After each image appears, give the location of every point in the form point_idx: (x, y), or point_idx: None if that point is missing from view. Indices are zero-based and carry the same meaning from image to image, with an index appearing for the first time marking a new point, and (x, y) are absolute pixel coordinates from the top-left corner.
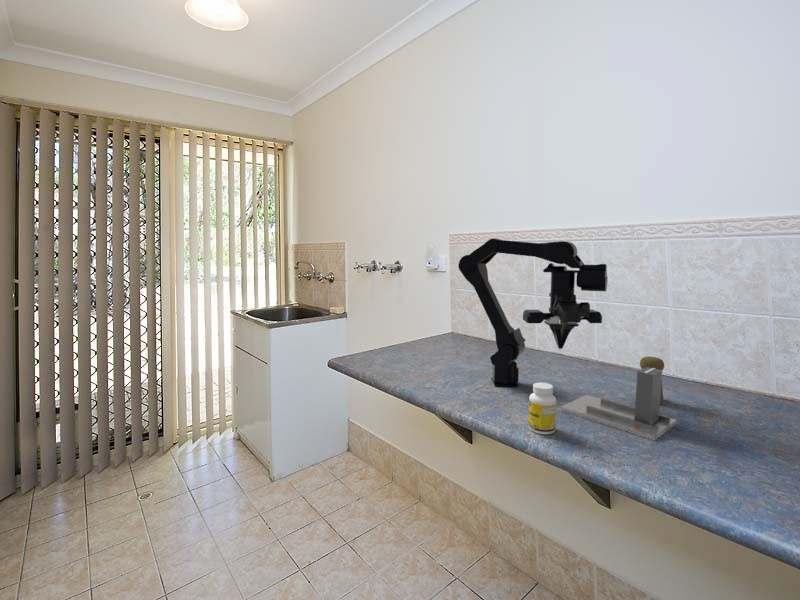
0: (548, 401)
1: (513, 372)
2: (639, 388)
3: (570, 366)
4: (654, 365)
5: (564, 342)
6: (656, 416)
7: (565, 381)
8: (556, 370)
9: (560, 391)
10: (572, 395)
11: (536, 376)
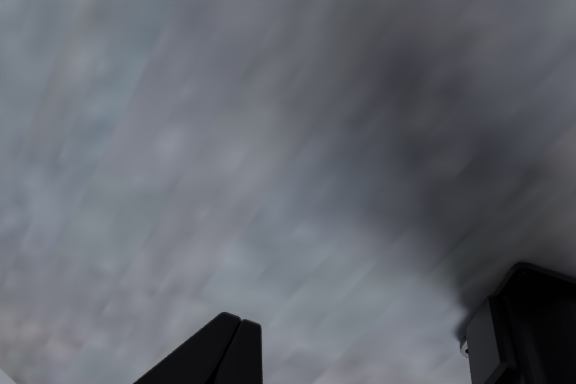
0: None
1: (543, 348)
2: None
3: (98, 360)
4: None
5: (165, 365)
6: None
7: (204, 238)
8: None
9: (314, 125)
10: (282, 45)
11: (306, 333)
